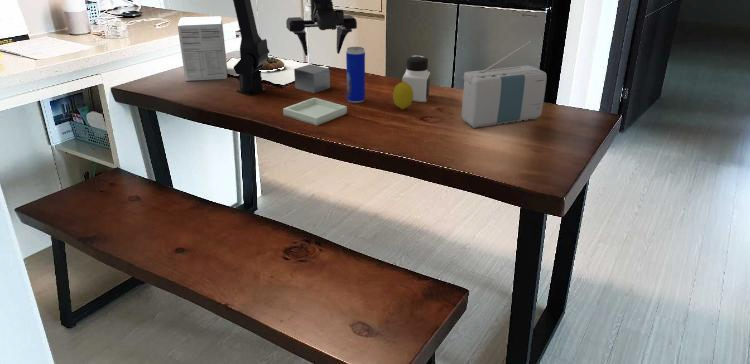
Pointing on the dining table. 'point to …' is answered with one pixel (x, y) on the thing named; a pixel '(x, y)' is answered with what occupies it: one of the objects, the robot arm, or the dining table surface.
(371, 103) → the dining table surface
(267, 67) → the bread roll
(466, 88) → the stereo radio cassette player
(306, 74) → the box
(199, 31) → the supplement box
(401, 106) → the lemon
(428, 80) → the medicine bottle
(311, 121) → the tray
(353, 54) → the beverage can
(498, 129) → the dining table surface
